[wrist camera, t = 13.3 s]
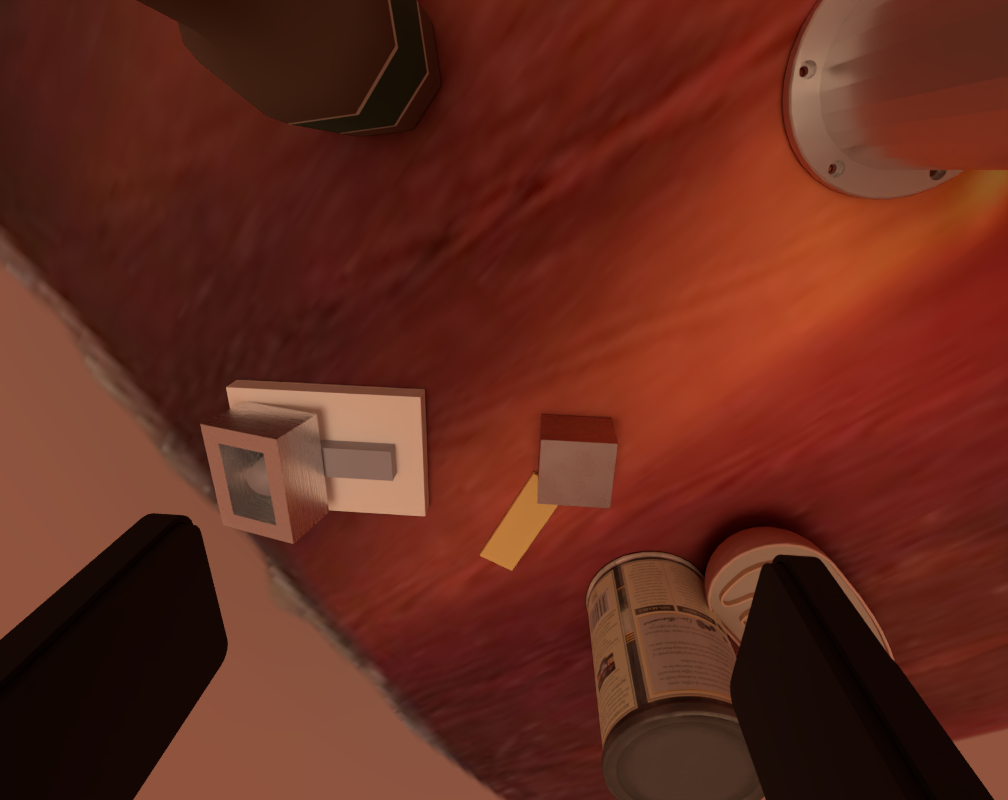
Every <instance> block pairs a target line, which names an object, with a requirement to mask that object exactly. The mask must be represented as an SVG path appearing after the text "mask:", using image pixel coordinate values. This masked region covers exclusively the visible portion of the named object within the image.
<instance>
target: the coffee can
mask: <svg viewBox="0 0 1008 800" xmlns="http://www.w3.org/2000/svg"><path fill="white" fill-rule="evenodd" d="M704 584H705V578H704V576H703V575H702V574H701V572H700V571H699V570H698V569H697V568H696V567H695V566H694V565H693V564H691V563H690V562H688V561H686V560H684V559H682V558H680V557H678V556H675V555H672V554H668V553H663V552H640V553H634V554H630V555H625V556H622V557H620V558H618V559H616V560H614V561H612V562H610V563H609V564H607V565H606V566H605V567H603V568H602V569H601V570H600V571H599V572H598V573H597V575H596V576H595V577H594V578H593V580H592V582H591V584H590V586H589V588H588V592H587V598H586V605H587V610H588V615H589V625H590V634H591V643H592V653H593V662H594V671H595V681H596V691H597V701H598V709H599V718H600V727H601V736H602V745H603V754H602V769H603V776H604V780H605V782H606V785H607V787H608V788H609V790H610V792H611V793H612V794H613V795H614V797H615V798H616V799H617V800H761V799H762V798H763V797H764V793H763V790H762V787H761V785H760V782H759V779H758V776H757V773H756V770H755V768H754V765H753V762H752V759H751V756H750V753H749V751H748V748H747V745H746V742H745V739H744V736H743V733H742V731H741V728H740V725H739V722H738V719H737V716H736V714H735V711H734V708H733V705H732V701H731V695H730V681H731V676H732V673H733V669H734V665H735V662H736V656H735V653H734V651H733V648H732V646H731V643H730V641H729V639H728V636H727V634H726V631H725V629H724V626H723V624H722V622H721V620H720V618H719V617H718V615H717V614H716V613H715V612H714V610H713V612H712V611H710V610H709V608H708V605H707V601H706V596H705V586H704Z"/></svg>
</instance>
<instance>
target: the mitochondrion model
mask: <svg viewBox="0 0 1008 800" xmlns="http://www.w3.org/2000/svg"><path fill="white" fill-rule="evenodd" d="M780 554H782V555H797V556H813V557H817V558H819V559H820V560H821V561H822V562H823V563H824V564H825V566H826V567H827V569H828V570H829V571H830V573H831V574H832V576H833V577H834V578H835V580H836V581H837V583H838V584H839V585H840V587H841V588H842V590H843V591H844V592H845V594H846V595H847V597H848V598H849V600H850V601H851V602H852V604H853V605H854V607H855V608H856V609H857V611H858V612H859V614H860V615H861V616H862V618H863V619H864V621H865V622H866V623H867V625H868V626H869V628H870V629H871V630H872V632H873V633H874V635H875V636H876V637H877V639H878V640H879V642H880V643H881V644H882V646H883V647H884V649H885V650H886V652H887V653H888V654H889V656H890V657H891V658H892V659H893V660H894V658H893V655H892V652H891V649H890V647H889V645H888V642H887V640H886V638H885V636H884V633H883V631H882V630H881V628H880V626H879V624H878V622H877V621H876V619H875V617H874V615H873V614H872V612H871V611H870V609H869V608H868V606H867V605H866V603H865V602H864V600H863V599H862V597H861V596H860V594H859V593H858V592H857V591H856V589H855V588H854V587H853V586H852V584H851V583H850V582H849V581H848V579H847V578H846V577H845V576H844V574H843V573H842V572H841V571H840V569H839V568H838V567H837V566H836V564H835V563H834V562H833V561H832V560H831V559H830V558H829V557H828V556H827V555H826V554H825V553H824V552H823V551H822V550H821V549H819V548H818V547H817V546H816V545H814V544H813V543H812V542H811V541H809V540H807V539H806V538H804V537H802V536H800V535H798V534H796V533H794V532H791V531H788V530H784V529H780V528H774V527H754V528H749V529H745V530H742V531H739V532H737V533H735V534H733V535H731V536H729V537H728V538H727V539H726V540H724V541H723V542H722V543H721V544H720V545H719V546H718V547H717V548H716V550H715V551H714V553H713V554H712V556H711V558H710V560H709V562H708V564H707V568H706V572H705V584H704V586H705V596H706V601H707V605H708V608H709V610H710V611H712V612H713V610H714V612H715V613H716V614H717V615H718V617H719V618H720V620H721V622H722V624H723V626H724V629H725V631H726V633H727V634H728V635H729V636H730V637H731V638H732V639H733V640H734V641H735V642H736V643H737V645H738V646H739V647H740V644H741V640H742V636H743V633H744V629H745V625H746V622H747V618H748V615H749V611H750V607H751V604H752V600H753V596H754V593H755V589H756V586H757V582H758V578H759V575H760V571H761V568H762V566H763V565H764V564H765V563H772V561H773V559H774V558H775V557H776V555H780Z"/></svg>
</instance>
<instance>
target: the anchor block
mask: <svg viewBox="0 0 1008 800" xmlns="http://www.w3.org/2000/svg"><path fill="white" fill-rule="evenodd" d="M617 446H618V443H617V439H616V435H615V432H614V428H613V424H612V421H611V418H603V417H584V416H566V415H547V414H541V429H540V446H539V463H538V490H537V504H551V505H567V506H583V507H599V508H610V502H611V494H612V486H613V478H614V470H615V462H616V454H617Z"/></svg>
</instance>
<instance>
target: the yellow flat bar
mask: <svg viewBox="0 0 1008 800" xmlns="http://www.w3.org/2000/svg"><path fill="white" fill-rule="evenodd" d="M537 490H538V473H536V472H534V471H533V473H532V475H531V476H530V478H529V479H528V481H527V482H526V484H525V485H524V487H523V488H522V490H521V491H520V493H519V494H518V496H517V497H516V499H515V500H514V502H513V503H512V505H511V506H510V508H509V509H508V511H507V513H506V514H505V516H504V517H503V519H502V520H501V522H500V523H499V525H498V526H497V528H496V529H495V531H494V532H493V534H492V535H491V537H490V538H489V540H488V541H487V543H486V544H485V546H484V548H483V549H482V551H481V552H480V556H482V557H484V558H486V559H488V560H490V561H492V562H494V563H496V564H499V565H501V566H503V567H505V568H507V569H509V570H511V571H512V570H513V568H514V567H515V566H516V564H517V563H518V561H519V560H520V559H521V557H522V556H523V554H524V553H525V551H526V550H527V549H528V547H529V546H530V544H531V543H532V541H533V540H534V539H535V537H536V536H537V534H538V533H539V532H540V530H541V529H542V527H543V526H544V524H545V523H546V522H547V520H548V519H549V517H550V516H551V514H552V513H553V512H554V510H555V509H556V507H557V506H558V505H551V504H537Z"/></svg>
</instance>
